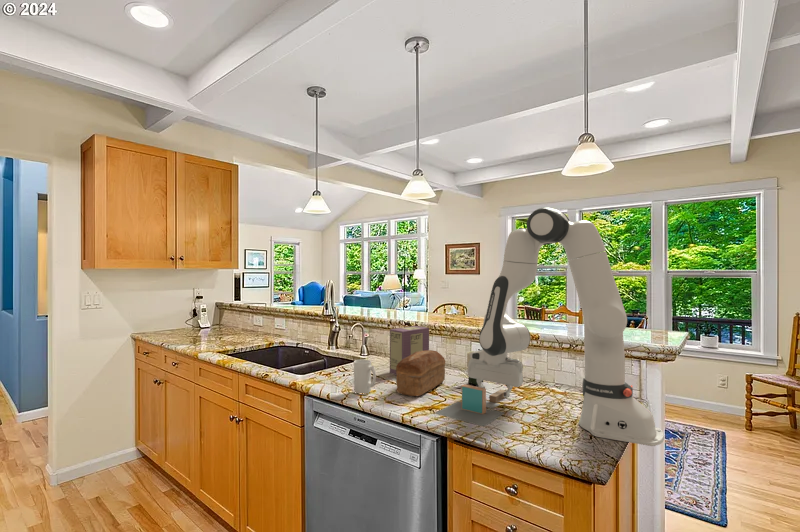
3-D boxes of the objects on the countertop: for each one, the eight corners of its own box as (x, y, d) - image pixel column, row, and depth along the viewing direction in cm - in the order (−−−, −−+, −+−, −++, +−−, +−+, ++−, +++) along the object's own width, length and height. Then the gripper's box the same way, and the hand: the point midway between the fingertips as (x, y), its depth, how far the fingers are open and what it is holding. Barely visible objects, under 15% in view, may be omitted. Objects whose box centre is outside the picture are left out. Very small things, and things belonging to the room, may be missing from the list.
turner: (496, 396, 156) (496, 388, 156) (511, 399, 152) (511, 391, 152) (476, 407, 144) (476, 398, 144) (492, 410, 140) (492, 402, 140)
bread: (391, 395, 157) (391, 357, 157) (423, 378, 182) (423, 345, 182) (419, 400, 151) (419, 361, 151) (449, 382, 176) (449, 348, 176)
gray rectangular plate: (505, 414, 137) (505, 412, 137) (483, 428, 125) (483, 426, 125) (458, 403, 148) (458, 401, 148) (434, 414, 136) (434, 413, 136)
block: (485, 412, 137) (485, 388, 137) (482, 414, 135) (482, 390, 135) (464, 407, 142) (464, 384, 142) (461, 409, 140) (461, 385, 140)
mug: (350, 392, 160) (350, 361, 160) (361, 388, 165) (361, 358, 166) (369, 397, 154) (369, 365, 154) (381, 393, 159) (381, 362, 159)
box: (403, 376, 184) (403, 331, 184) (389, 372, 191) (389, 329, 191) (428, 370, 195) (429, 327, 195) (415, 366, 202) (415, 325, 202)
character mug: (478, 388, 166) (478, 356, 166) (462, 385, 170) (462, 353, 170) (489, 382, 175) (489, 351, 175) (473, 379, 179) (473, 349, 179)
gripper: (526, 358, 145) (525, 398, 145) (473, 350, 158) (473, 386, 158) (519, 361, 140) (518, 402, 140) (465, 353, 153) (465, 390, 153)
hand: (494, 394), depth 149 cm, fingers open, 8 cm apart
